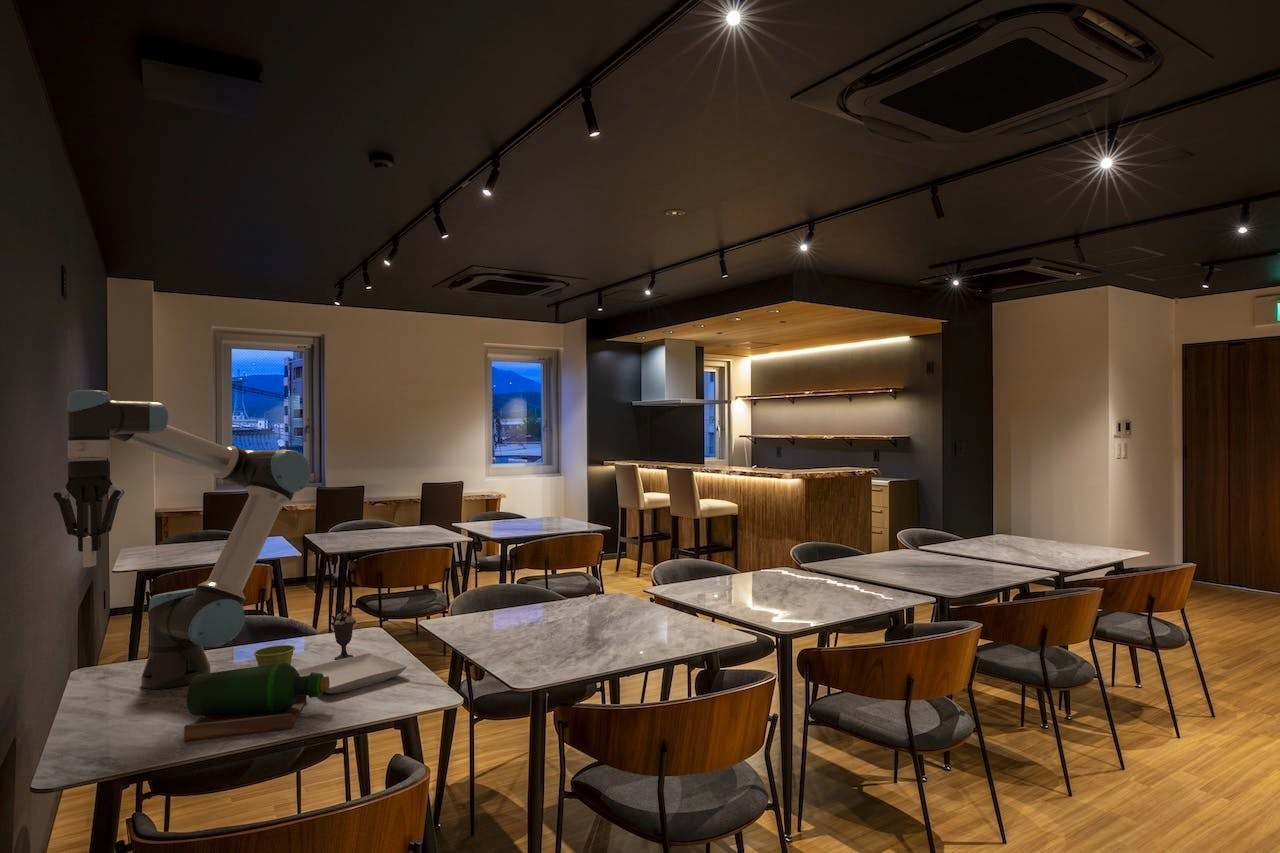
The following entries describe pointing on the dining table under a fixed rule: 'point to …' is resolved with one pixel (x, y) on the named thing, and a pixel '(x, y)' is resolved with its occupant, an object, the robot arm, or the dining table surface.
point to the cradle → (243, 723)
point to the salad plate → (355, 672)
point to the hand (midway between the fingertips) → (89, 566)
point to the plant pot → (274, 655)
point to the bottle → (252, 690)
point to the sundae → (343, 631)
